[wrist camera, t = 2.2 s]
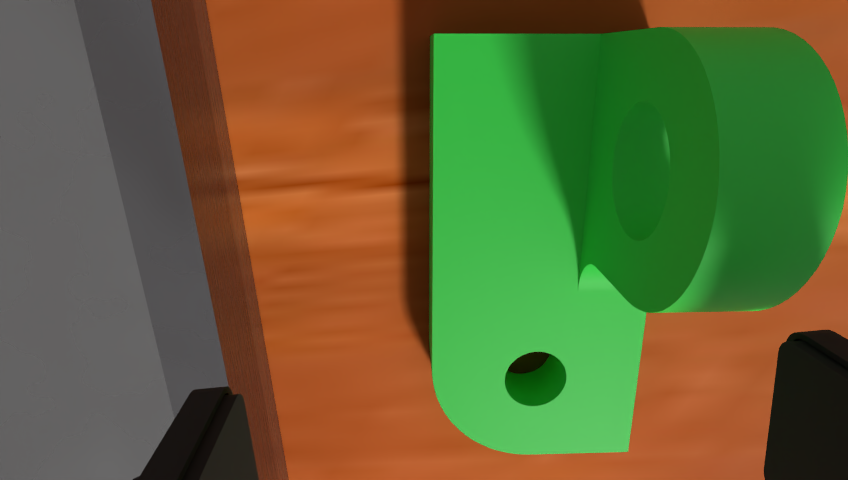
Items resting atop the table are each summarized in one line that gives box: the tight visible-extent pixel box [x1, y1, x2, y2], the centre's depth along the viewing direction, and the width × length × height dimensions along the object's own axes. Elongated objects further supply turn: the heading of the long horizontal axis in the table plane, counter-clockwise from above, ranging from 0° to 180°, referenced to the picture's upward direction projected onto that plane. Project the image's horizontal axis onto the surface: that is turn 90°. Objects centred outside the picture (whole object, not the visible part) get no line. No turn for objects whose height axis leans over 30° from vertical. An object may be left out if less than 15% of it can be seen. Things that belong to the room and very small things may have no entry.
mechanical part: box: [429, 27, 848, 454], centre depth 13 cm, size 12×6×8 cm, turn 0°
